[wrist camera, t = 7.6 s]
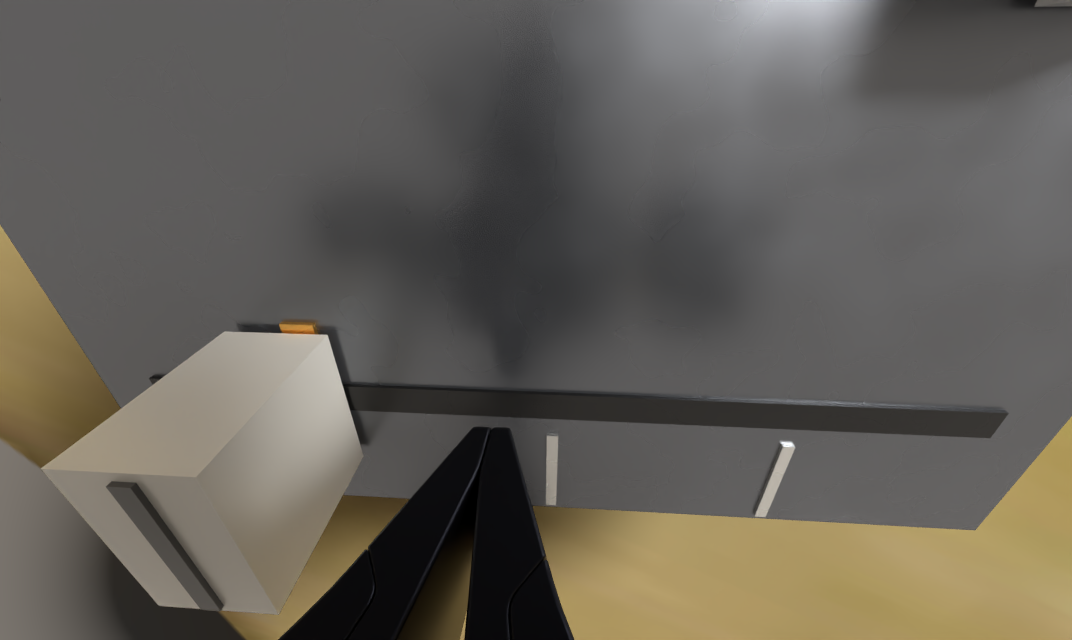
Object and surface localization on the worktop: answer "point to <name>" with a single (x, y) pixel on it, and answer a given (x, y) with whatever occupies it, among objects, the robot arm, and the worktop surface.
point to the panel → (581, 231)
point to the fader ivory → (220, 472)
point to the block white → (1053, 3)
